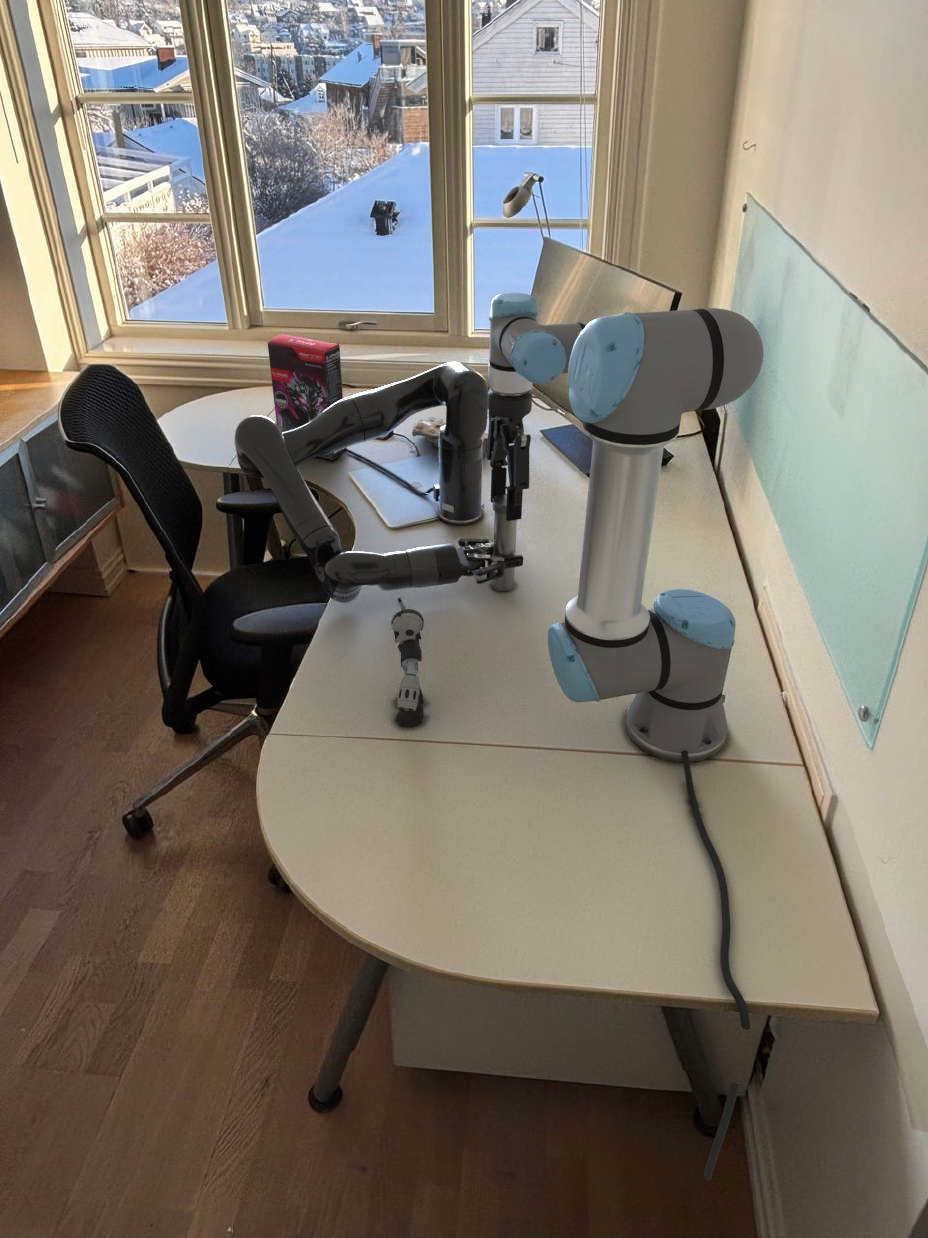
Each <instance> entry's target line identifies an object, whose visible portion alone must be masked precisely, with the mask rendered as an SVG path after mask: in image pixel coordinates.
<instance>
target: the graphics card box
mask: <svg viewBox="0 0 928 1238" xmlns="http://www.w3.org/2000/svg"><path fill="white" fill-rule="evenodd" d="M340 347H341V346H340V343H335V342H333V343H332V342H328V341H322V340H317V339H311V338H306V337H300V336H295V335H289V334H285V333H282V334H279V335H277V336H274V337H273V338H271V339H270V340H268V341H267V351H268V359H269V367H270V369H269V370H270V377H271V378H270V379H271V385H272V386H271V387H272V395H273V403H274V412H275V413H274V414H275V423H276V424H277V425H278V426H279V428H280V429H281V431H282V433H283V432H287V431H290V430H293V429H296V428H298V427H301V426H303V425H305V424H306V423H308V422H309V421H311V420H312V419H314V418H315V417H316V416H317V415H319V414H320V413H321V412H322V411H324V410H325V409H326V408H328V407H329V406H331V405H332V404H334V403H335V402H337V401H339V400H341V399H343V398H344V393H343V380H342V364H341V363H342V362H341V349H340ZM347 449H348V447H346V448H343V449H340V450H337V451H334V452H331V453H328V454H325V455H322V456H319V457H318V458H322V459H326V460H330V461H333V460H335V459H337V458H339V457H340V456H342V455H344V454H345V453H348V452H347Z"/></svg>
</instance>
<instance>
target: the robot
mask: <svg viewBox="0 0 928 1238" xmlns="http://www.w3.org/2000/svg"><path fill="white" fill-rule="evenodd" d="M397 603H398V604H399V607H400V610H399V611H397V612H396V613H395V614H394V615H392V618H391V621H390V624H391V630H392V632H393V635H394V643H395V644H398V645H397V646H396V647H397V649H398V651H399V654H400V668H401V669H402V671H403V674H404V675H403V676H402V678H401V680H400V683H399V686H398V689H397V691H398V692H397V696H396V699H395V703H396V705H397V709H398V712H397V714H396V717H395V722H396V723H397V724H398V725H399V726H400V727H405V728H411V727H414V726H417V725H420V724H422V722H423V720H424V718H425V715H424V707H423V704H424V703H425V702H424V694H423V692H422V689H421V684H420V683H421V682H420V679H419V676H418V675H417V674H418V673H419V662H420V663H421V662H422V660H423V653H422V652H423V651H422V647H421V643H420V641H421V640H422V634H421V632H422V631H423V629H424V628H425V627H424V626H425V619H424V617H423V615H422V614H421V612H420V611H418V610H416V609H413V608H406V605H405V604H404V602H403V600H402V599H401V597H398V598H397Z"/></svg>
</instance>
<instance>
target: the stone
mask: <svg viewBox="0 0 928 1238" xmlns="http://www.w3.org/2000/svg"><path fill="white" fill-rule="evenodd" d="M445 424H446V420H444V419H443V418H439V417H434V416H429V417H427V418H419V419H418V420H417V422H415V423H413V426H412V432H411V434H412V436H413V437H417V436H419V437H420V436H421V437H424V438H425V440H426V441H428V442H431V443H433V446H434V447H437V448H439V430H440V428H441V427H442V426H443V425H445ZM487 443H488V432H485V433H484V435H483V448H482V458H483V457H484V455H485V454H486V453H487Z"/></svg>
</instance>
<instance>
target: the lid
mask: <svg viewBox="0 0 928 1238" xmlns="http://www.w3.org/2000/svg"><path fill="white" fill-rule="evenodd" d="M506 505H507V493H506V494H499V495H497V496H495V497H494V498H493V503H492V510H493V512H494V513H495V512H496V513H498V514H502V515H506Z"/></svg>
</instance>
